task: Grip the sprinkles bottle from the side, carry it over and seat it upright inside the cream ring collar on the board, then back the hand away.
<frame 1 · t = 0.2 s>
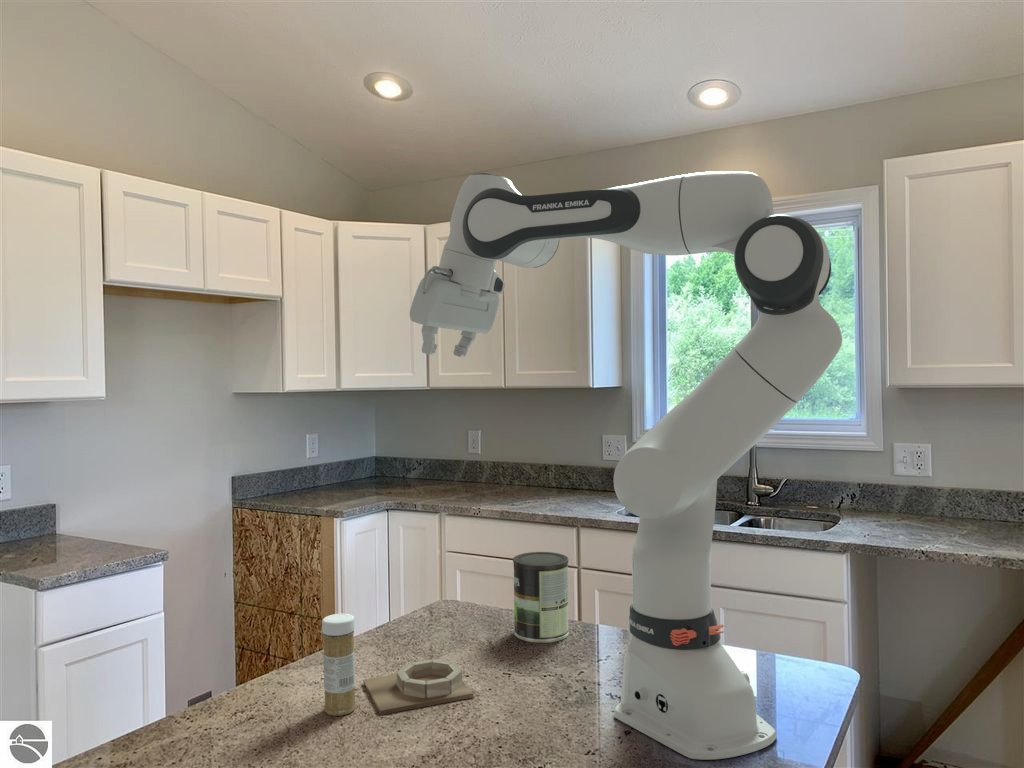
hand: (444, 355, 124), 52 cm above the countertop, tool tilted 20°, fingers open, 8 cm apart
sprinkles bottle: (340, 711, 108), on the countertop
socket board: (417, 690, 115), on the countertop
coffee can: (541, 634, 139), on the countertop
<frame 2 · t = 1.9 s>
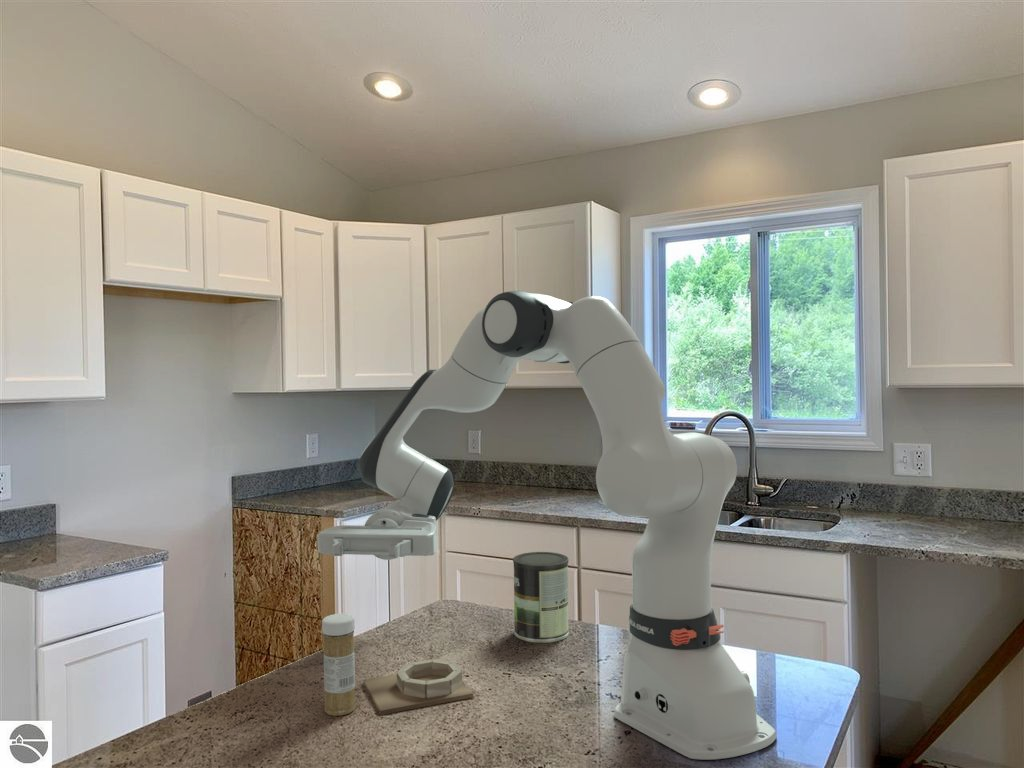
hand: (364, 551, 120), 20 cm above the countertop, tool horizontal, fingers open, 8 cm apart
nothing on the countertop moved.
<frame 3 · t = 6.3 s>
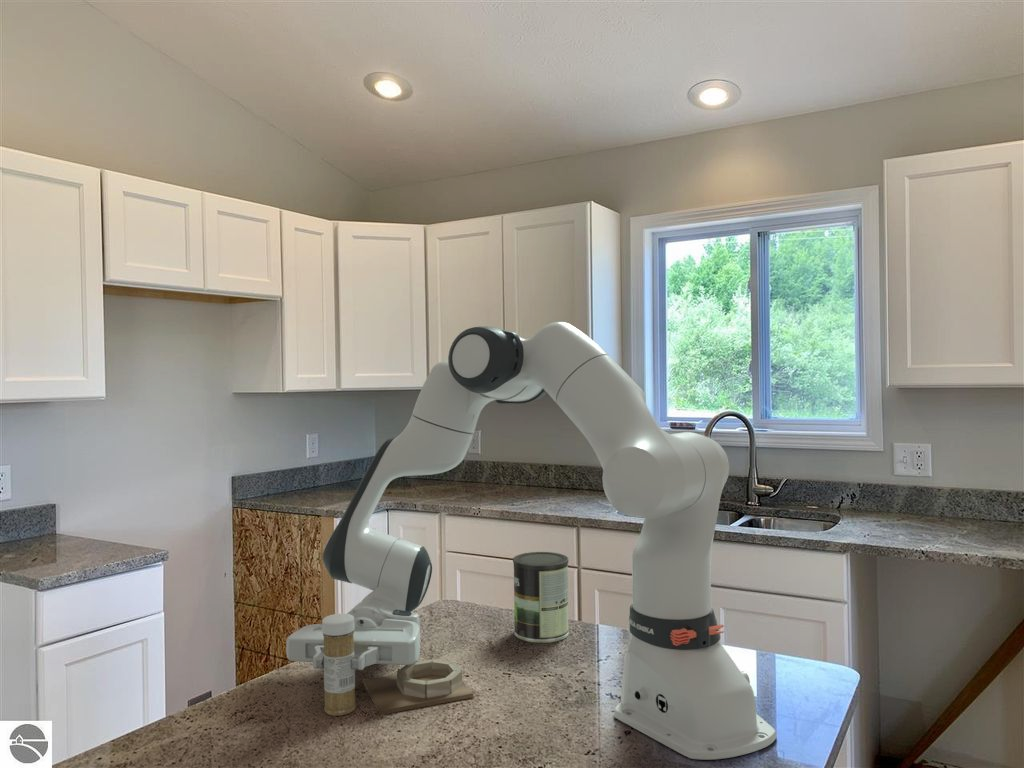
hand: (337, 664, 107), 7 cm above the countertop, tool horizontal, fingers closed on sprinkles bottle, 4 cm apart
sprinkles bottle: (339, 711, 108), on the countertop, touching gripper
everything else where it was.
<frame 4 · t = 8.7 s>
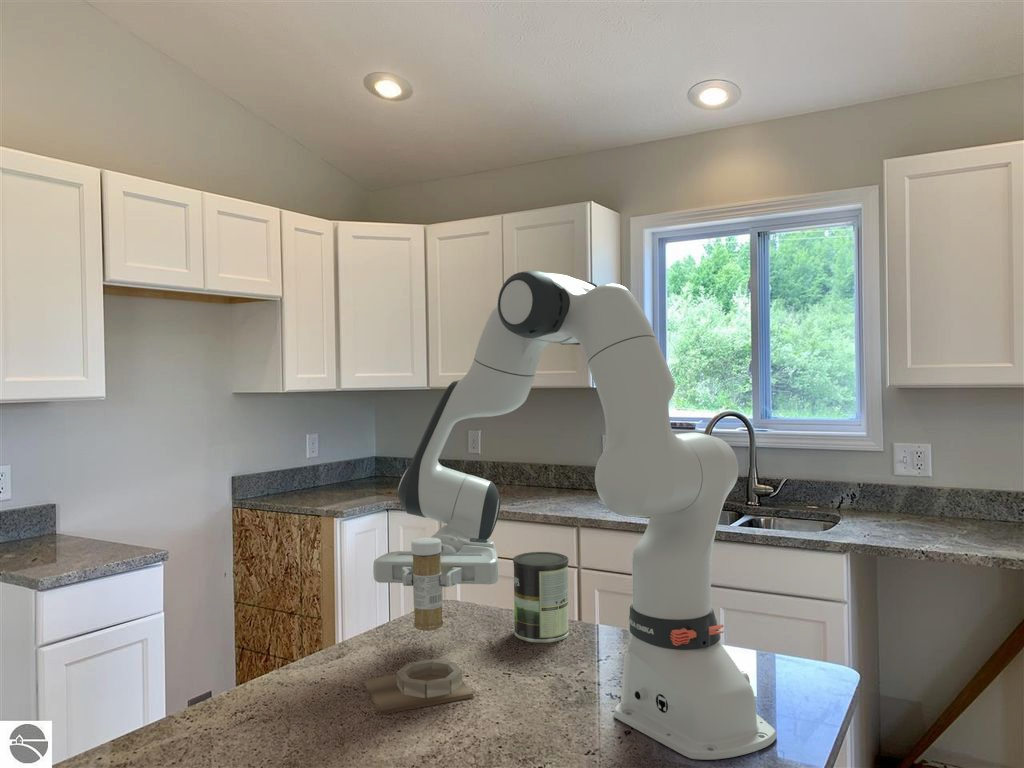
hand: (426, 581, 114), 17 cm above the countertop, tool horizontal, fingers closed on sprinkles bottle, 4 cm apart
sprinkles bottle: (428, 628, 115), point 9 cm above the countertop, touching gripper
everything else where it was.
when the fingers open (9 cm above the countertop, at t = 11.0 s): sprinkles bottle stays where it is, resting on socket board.
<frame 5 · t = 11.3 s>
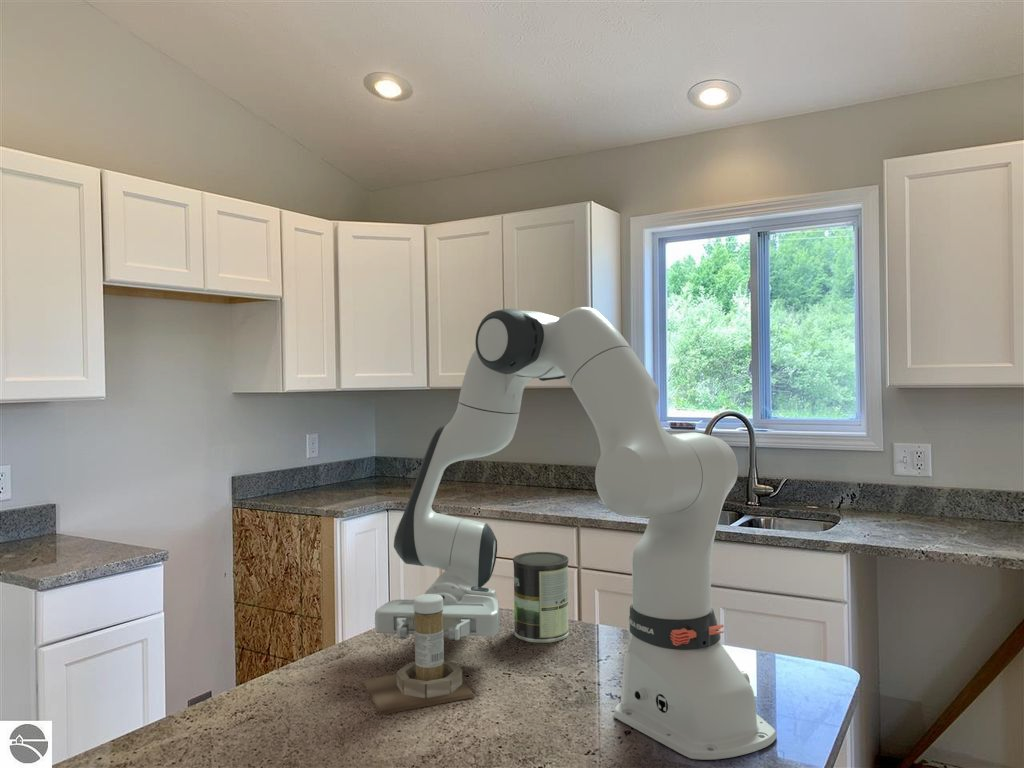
hand: (427, 634, 114), 9 cm above the countertop, tool horizontal, fingers open, 7 cm apart
sprinkles bottle: (429, 685, 115), resting on socket board
everything else where it was.
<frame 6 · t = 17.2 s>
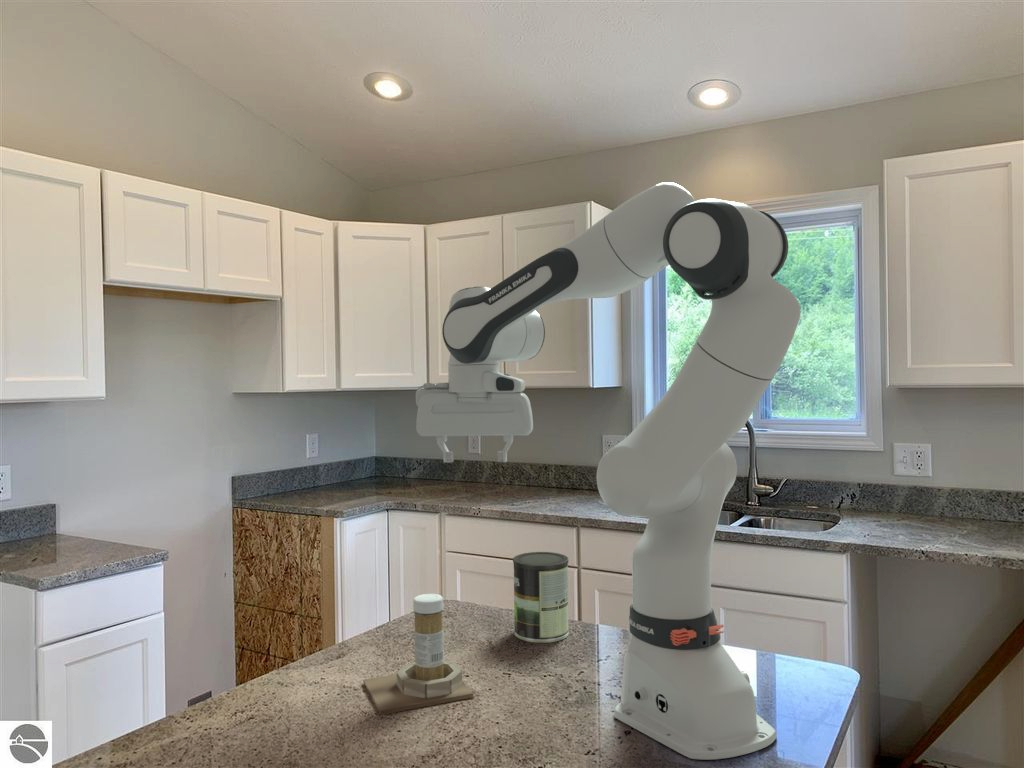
hand: (475, 462, 130), 33 cm above the countertop, tool pointing down, fingers open, 8 cm apart
nothing on the countertop moved.
at the end: sprinkles bottle 0.0 cm from the target spot, resting on socket board; sprinkles bottle tilted 0°; the gripper is holding nothing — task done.
